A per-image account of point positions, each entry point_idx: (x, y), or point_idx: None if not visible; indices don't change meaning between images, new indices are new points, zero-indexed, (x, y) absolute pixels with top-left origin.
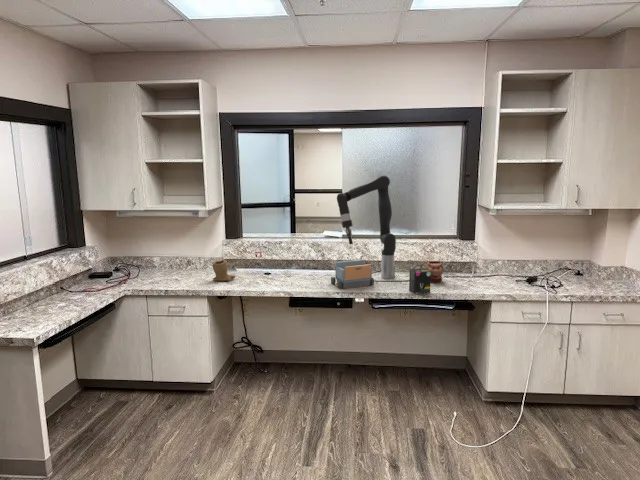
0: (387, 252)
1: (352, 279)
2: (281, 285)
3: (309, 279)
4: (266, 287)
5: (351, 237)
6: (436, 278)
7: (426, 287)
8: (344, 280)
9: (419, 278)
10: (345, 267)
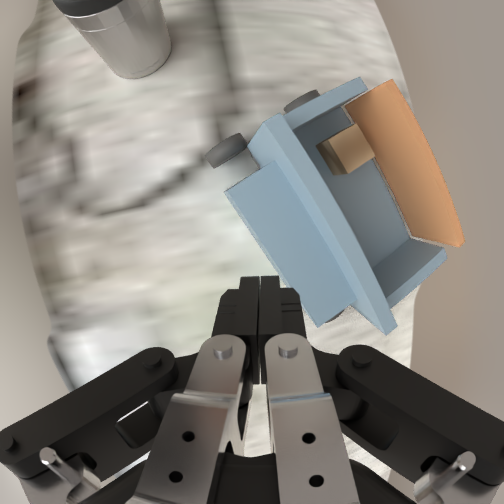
0: None
1: (391, 198)
2: (349, 444)
3: (260, 408)
4: (367, 458)
5: (292, 353)
6: None
7: None
8: (408, 237)
9: None
10: (462, 242)
